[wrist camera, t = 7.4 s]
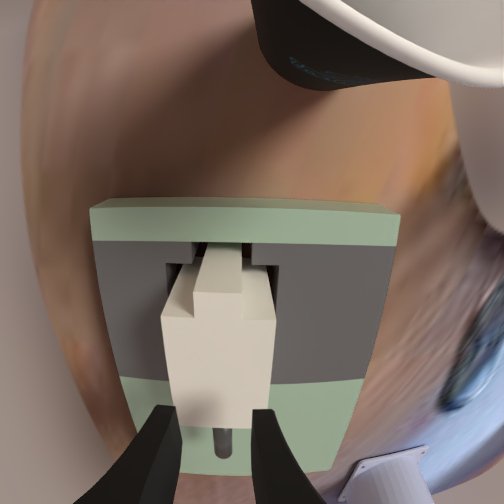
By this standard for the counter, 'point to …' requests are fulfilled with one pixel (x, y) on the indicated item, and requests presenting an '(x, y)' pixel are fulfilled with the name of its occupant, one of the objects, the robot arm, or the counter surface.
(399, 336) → the counter surface
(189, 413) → the plug
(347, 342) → the board
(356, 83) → the dixie cup
